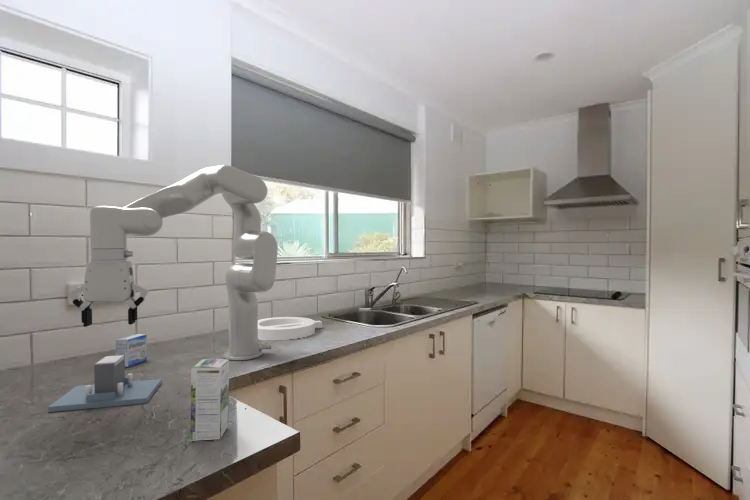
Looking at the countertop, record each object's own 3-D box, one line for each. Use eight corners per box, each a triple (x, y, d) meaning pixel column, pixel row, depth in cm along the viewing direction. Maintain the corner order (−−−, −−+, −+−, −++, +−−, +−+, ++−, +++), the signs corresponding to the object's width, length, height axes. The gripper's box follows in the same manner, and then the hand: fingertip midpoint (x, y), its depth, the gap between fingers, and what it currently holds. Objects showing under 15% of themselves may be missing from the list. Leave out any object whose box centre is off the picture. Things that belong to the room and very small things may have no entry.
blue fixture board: (161, 383, 109) (161, 368, 109) (146, 403, 95) (146, 385, 95) (76, 390, 104) (76, 374, 104) (48, 412, 90) (48, 393, 90)
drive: (125, 385, 104) (124, 354, 104) (113, 396, 96) (113, 363, 96) (107, 386, 103) (107, 355, 103) (94, 398, 95) (94, 364, 95)
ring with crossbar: (324, 328, 182) (324, 318, 182) (299, 343, 155) (299, 331, 155) (268, 325, 189) (268, 315, 188) (234, 339, 161) (234, 327, 161)
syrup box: (200, 428, 82) (199, 358, 82) (229, 427, 83) (229, 357, 82) (189, 442, 76) (189, 367, 76) (221, 441, 77) (221, 366, 77)
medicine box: (127, 367, 123) (127, 339, 123) (115, 366, 124) (115, 339, 124) (147, 360, 131) (147, 334, 131) (135, 359, 132) (135, 333, 132)
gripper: (151, 255, 105) (152, 319, 105) (75, 256, 100) (76, 323, 101) (143, 256, 98) (144, 325, 98) (60, 257, 93) (62, 329, 94)
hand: (110, 324), depth 99 cm, fingers open, 9 cm apart
